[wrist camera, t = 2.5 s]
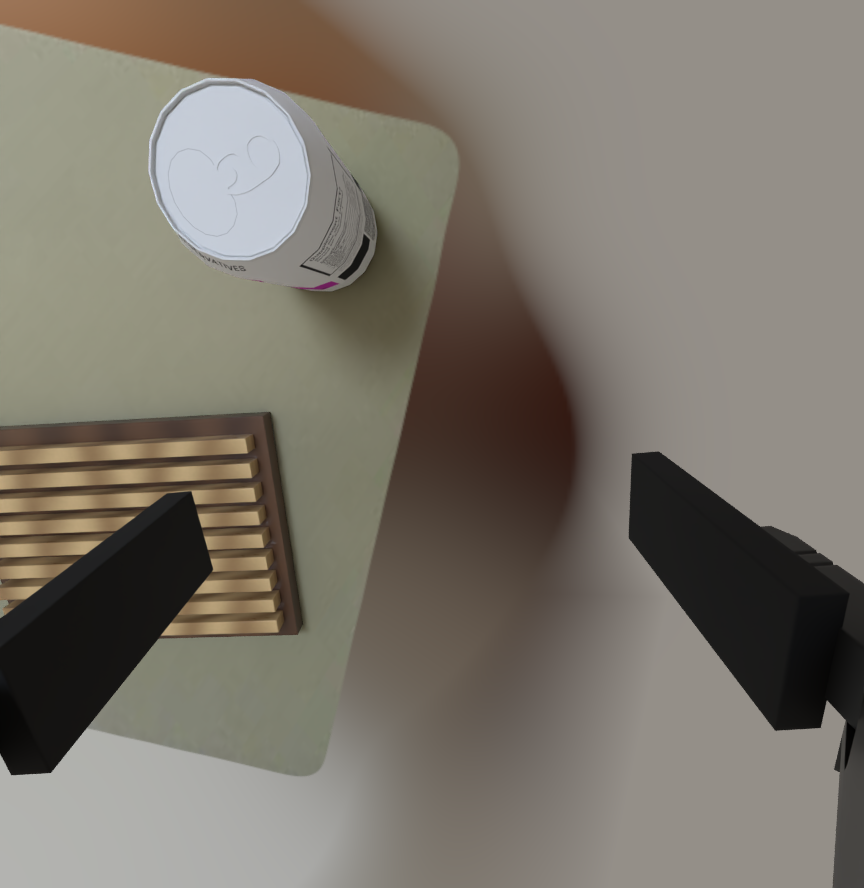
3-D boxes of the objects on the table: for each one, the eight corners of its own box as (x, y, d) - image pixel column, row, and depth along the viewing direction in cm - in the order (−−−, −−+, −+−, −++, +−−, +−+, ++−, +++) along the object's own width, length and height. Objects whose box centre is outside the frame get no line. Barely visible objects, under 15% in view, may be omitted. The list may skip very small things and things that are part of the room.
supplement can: (306, 312, 36) (208, 309, 21) (246, 209, 34) (94, 129, 20) (398, 257, 35) (360, 215, 20) (340, 147, 33) (253, 14, 18)
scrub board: (270, 411, 38) (255, 419, 35) (302, 624, 43) (292, 646, 40) (-32, 428, 40) (-70, 437, 37) (35, 631, 45) (6, 653, 42)
